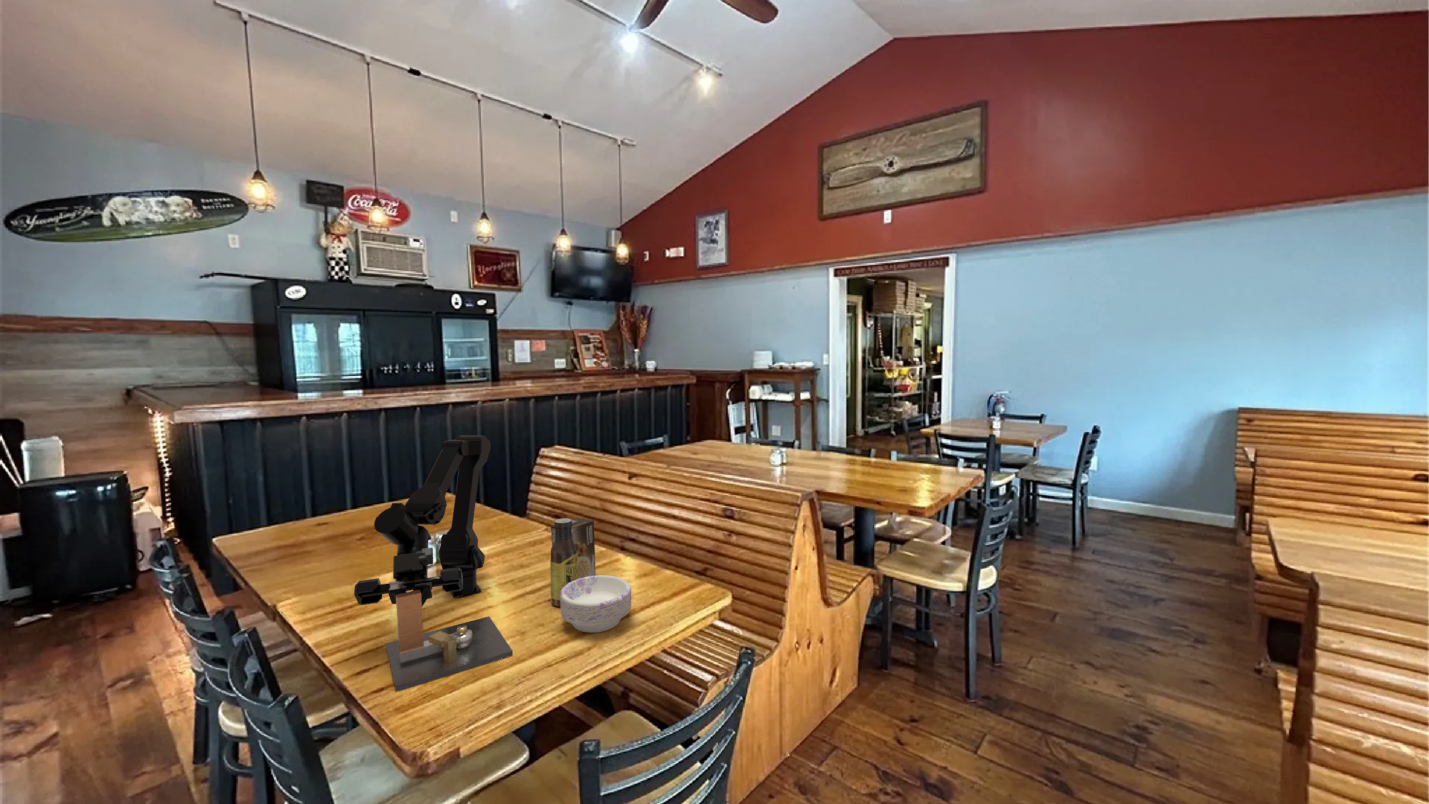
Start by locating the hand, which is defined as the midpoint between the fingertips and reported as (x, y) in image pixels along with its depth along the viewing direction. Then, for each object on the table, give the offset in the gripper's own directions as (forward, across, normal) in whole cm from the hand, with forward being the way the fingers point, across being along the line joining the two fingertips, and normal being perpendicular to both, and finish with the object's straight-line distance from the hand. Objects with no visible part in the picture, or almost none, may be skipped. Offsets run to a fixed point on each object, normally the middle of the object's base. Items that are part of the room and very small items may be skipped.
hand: (409, 628), depth 108 cm
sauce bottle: (-6, +31, +16) cm, 35 cm away
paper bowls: (+4, +36, +6) cm, 37 cm away
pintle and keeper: (+6, +7, +4) cm, 10 cm away
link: (+4, +5, +4) cm, 7 cm away
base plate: (+4, +6, +6) cm, 9 cm away
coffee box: (-13, +35, +23) cm, 44 cm away
